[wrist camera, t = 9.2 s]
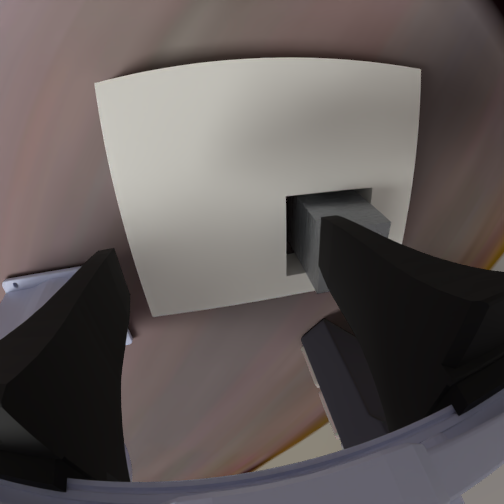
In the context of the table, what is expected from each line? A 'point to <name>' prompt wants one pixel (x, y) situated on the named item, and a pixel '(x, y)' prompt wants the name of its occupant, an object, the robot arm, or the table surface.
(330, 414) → the dark grey rectangular block
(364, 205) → the pin
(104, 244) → the table surface
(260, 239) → the slot board
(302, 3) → the table surface
